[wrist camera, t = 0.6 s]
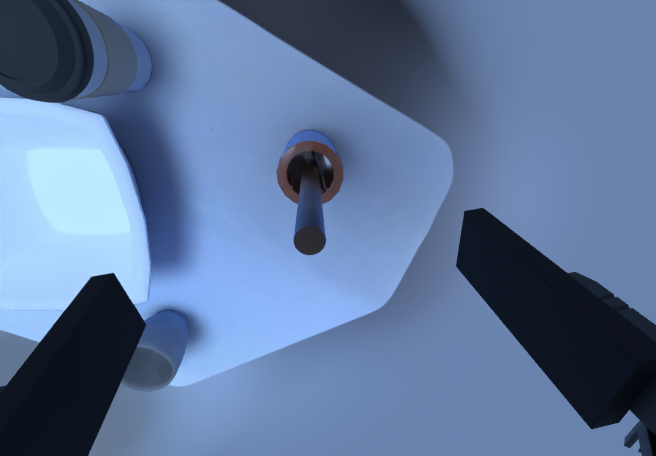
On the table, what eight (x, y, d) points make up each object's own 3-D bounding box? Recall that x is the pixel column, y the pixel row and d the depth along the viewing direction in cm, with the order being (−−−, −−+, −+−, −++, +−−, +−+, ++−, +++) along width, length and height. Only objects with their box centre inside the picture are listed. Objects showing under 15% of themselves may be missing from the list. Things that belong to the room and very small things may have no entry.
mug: (143, 296, 49) (106, 341, 40) (200, 306, 50) (176, 351, 41) (142, 352, 53) (109, 402, 45) (194, 359, 55) (171, 410, 46)
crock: (307, 118, 39) (306, 126, 29) (345, 153, 41) (356, 171, 31) (275, 158, 41) (263, 178, 31) (313, 190, 43) (313, 218, 33)
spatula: (301, 144, 40) (286, 214, 16) (314, 142, 40) (319, 208, 16) (306, 171, 42) (300, 271, 18) (319, 168, 42) (331, 265, 18)
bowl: (-53, 92, 36) (-180, 91, 27) (164, 100, 38) (116, 101, 28) (21, 268, 46) (-53, 312, 36) (192, 268, 47) (163, 311, 38)
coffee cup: (135, 1, 34) (14, -65, 20) (176, 87, 37) (97, 81, 23) (63, 29, 34) (-103, -16, 21) (109, 110, 38) (-5, 119, 24)
